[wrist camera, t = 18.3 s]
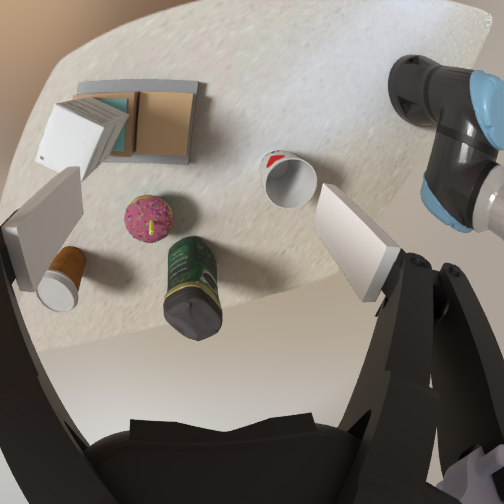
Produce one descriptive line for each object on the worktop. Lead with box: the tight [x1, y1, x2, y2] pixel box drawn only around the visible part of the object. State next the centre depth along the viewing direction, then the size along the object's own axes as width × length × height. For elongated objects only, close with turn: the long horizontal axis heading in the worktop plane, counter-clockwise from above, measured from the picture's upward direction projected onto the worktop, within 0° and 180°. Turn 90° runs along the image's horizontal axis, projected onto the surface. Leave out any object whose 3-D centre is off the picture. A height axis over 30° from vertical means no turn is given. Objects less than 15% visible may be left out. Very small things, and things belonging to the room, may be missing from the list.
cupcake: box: [124, 195, 173, 243], centre depth 45 cm, size 9×8×12 cm
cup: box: [260, 151, 317, 209], centre depth 46 cm, size 8×8×10 cm
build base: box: [73, 79, 198, 165], centre depth 39 cm, size 20×14×6 cm
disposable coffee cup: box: [35, 246, 85, 314], centre depth 48 cm, size 10×10×12 cm
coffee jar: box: [163, 237, 222, 341], centre depth 50 cm, size 10×8×19 cm
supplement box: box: [35, 97, 129, 183], centre depth 30 cm, size 7×7×13 cm
